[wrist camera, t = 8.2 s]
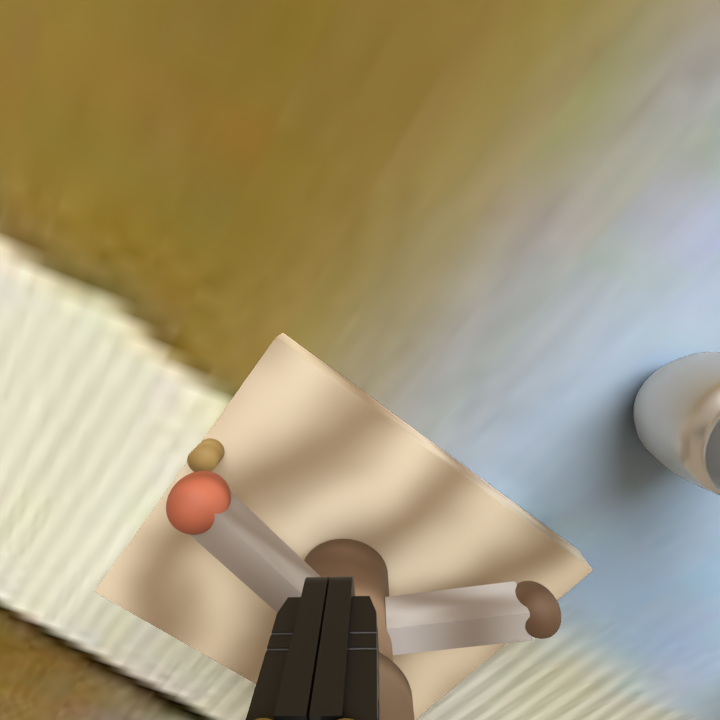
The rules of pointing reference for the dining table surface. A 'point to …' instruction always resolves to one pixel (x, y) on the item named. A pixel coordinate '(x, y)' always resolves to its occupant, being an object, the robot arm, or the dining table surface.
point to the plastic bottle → (683, 418)
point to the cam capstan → (359, 586)
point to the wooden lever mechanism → (333, 519)
